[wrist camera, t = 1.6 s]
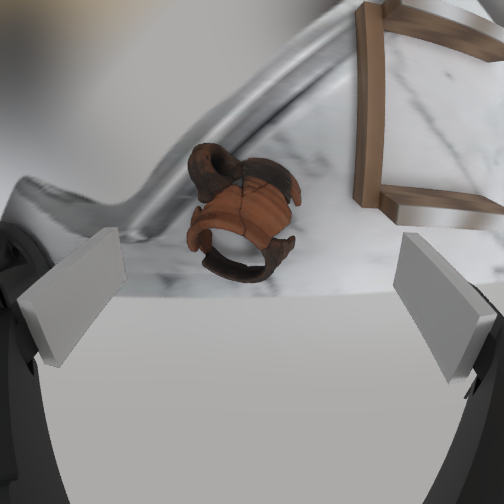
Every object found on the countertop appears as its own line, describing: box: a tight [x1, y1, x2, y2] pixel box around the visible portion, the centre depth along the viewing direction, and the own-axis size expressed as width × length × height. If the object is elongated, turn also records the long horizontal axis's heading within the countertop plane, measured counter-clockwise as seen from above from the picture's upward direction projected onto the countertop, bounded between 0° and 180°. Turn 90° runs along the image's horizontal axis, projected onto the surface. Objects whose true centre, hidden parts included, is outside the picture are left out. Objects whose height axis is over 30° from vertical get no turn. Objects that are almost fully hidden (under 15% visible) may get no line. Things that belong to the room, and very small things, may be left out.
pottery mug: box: [186, 143, 301, 283], centre depth 26 cm, size 12×9×8 cm
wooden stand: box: [353, 0, 504, 232], centre depth 20 cm, size 16×18×7 cm
